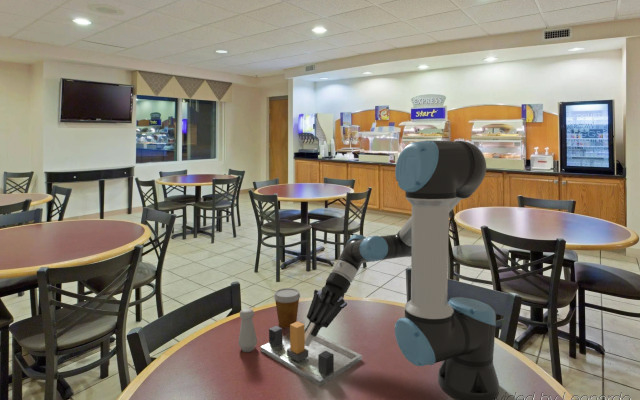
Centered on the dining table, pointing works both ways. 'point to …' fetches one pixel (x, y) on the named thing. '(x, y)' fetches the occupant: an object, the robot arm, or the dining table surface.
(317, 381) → the tray
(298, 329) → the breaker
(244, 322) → the salt shaker
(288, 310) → the disposable coffee cup
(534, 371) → the dining table surface
